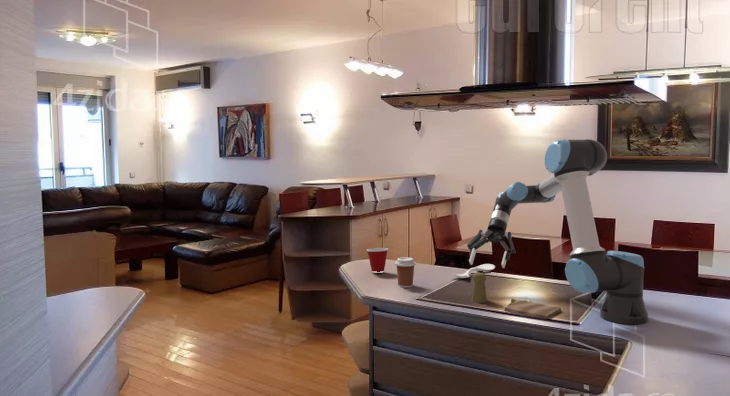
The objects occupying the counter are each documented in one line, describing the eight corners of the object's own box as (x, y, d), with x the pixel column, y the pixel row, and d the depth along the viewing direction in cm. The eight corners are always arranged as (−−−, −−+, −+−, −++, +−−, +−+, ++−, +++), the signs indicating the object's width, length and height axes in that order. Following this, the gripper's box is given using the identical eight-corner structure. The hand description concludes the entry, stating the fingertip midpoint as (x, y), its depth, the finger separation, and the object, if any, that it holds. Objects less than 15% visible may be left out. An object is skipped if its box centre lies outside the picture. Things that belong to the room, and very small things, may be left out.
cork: (487, 303, 211) (487, 275, 210) (471, 302, 212) (471, 274, 211) (486, 298, 217) (487, 271, 216) (471, 298, 218) (471, 271, 217)
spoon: (448, 279, 251) (448, 272, 251) (482, 267, 275) (482, 261, 275) (465, 282, 245) (465, 275, 245) (498, 270, 269) (498, 263, 269)
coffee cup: (415, 288, 234) (415, 261, 233) (394, 288, 236) (393, 260, 235) (416, 283, 243) (416, 256, 242) (396, 282, 245) (396, 256, 244)
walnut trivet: (560, 310, 200) (560, 307, 200) (546, 319, 190) (546, 316, 190) (519, 303, 210) (519, 300, 210) (504, 310, 200) (504, 307, 200)
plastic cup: (380, 269, 273) (380, 245, 272) (393, 273, 264) (392, 248, 263) (362, 272, 267) (361, 248, 266) (374, 276, 258) (374, 251, 257)
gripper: (529, 230, 230) (518, 272, 218) (472, 226, 243) (460, 266, 231) (526, 219, 225) (515, 262, 213) (468, 216, 238) (455, 256, 226)
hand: (486, 264), depth 222 cm, fingers open, 13 cm apart
